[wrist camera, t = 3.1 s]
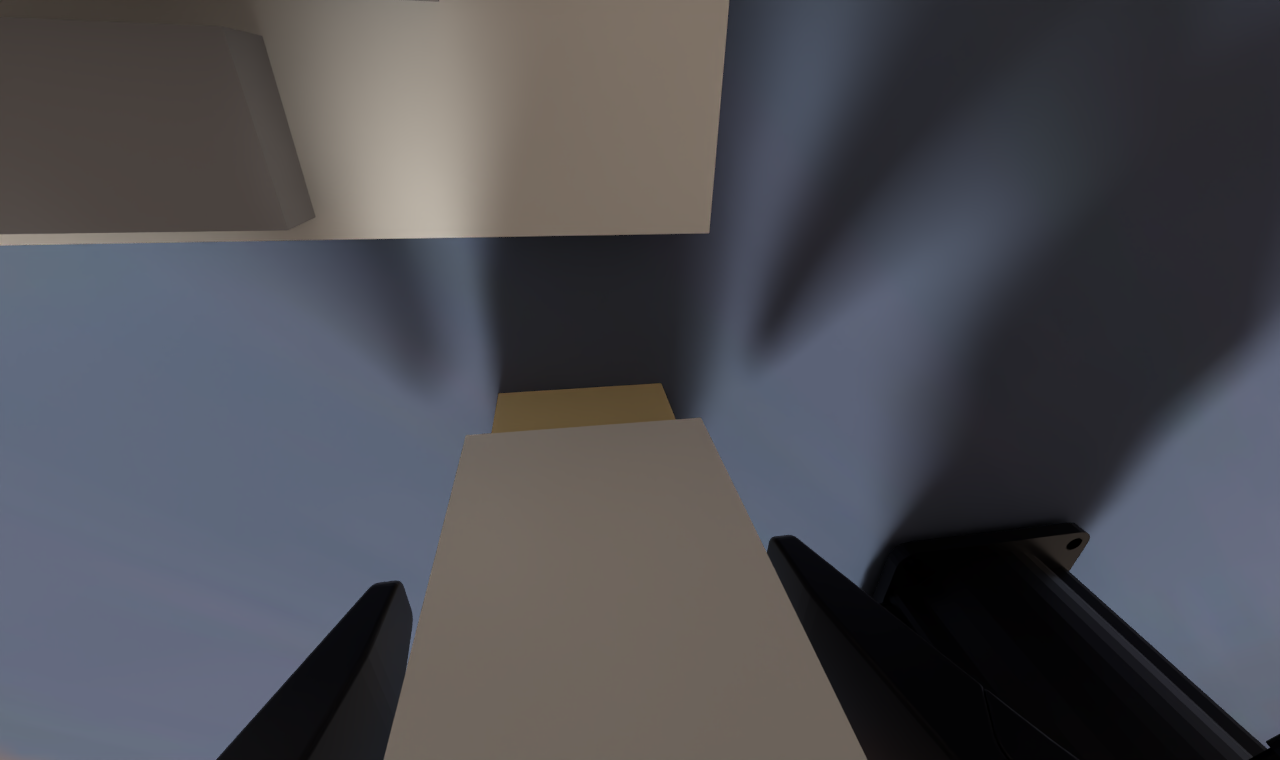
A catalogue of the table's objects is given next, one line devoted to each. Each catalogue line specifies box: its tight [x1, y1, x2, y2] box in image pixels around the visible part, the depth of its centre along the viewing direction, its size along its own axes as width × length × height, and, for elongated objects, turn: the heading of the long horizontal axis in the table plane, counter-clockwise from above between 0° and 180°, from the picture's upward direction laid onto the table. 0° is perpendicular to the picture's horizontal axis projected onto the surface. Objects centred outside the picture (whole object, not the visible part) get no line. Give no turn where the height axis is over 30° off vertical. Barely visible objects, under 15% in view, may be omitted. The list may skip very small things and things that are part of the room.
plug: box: [384, 383, 867, 760], centre depth 8 cm, size 4×5×8 cm
